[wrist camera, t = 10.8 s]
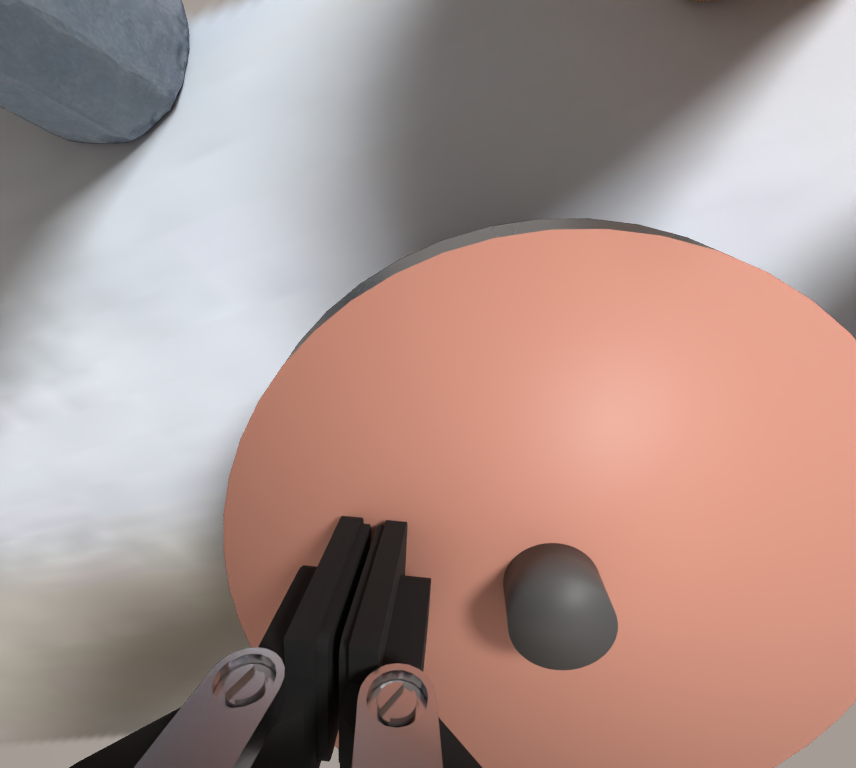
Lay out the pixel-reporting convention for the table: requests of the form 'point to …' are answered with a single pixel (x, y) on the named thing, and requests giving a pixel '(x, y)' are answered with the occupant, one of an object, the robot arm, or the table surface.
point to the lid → (582, 494)
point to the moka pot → (92, 65)
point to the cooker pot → (483, 236)
